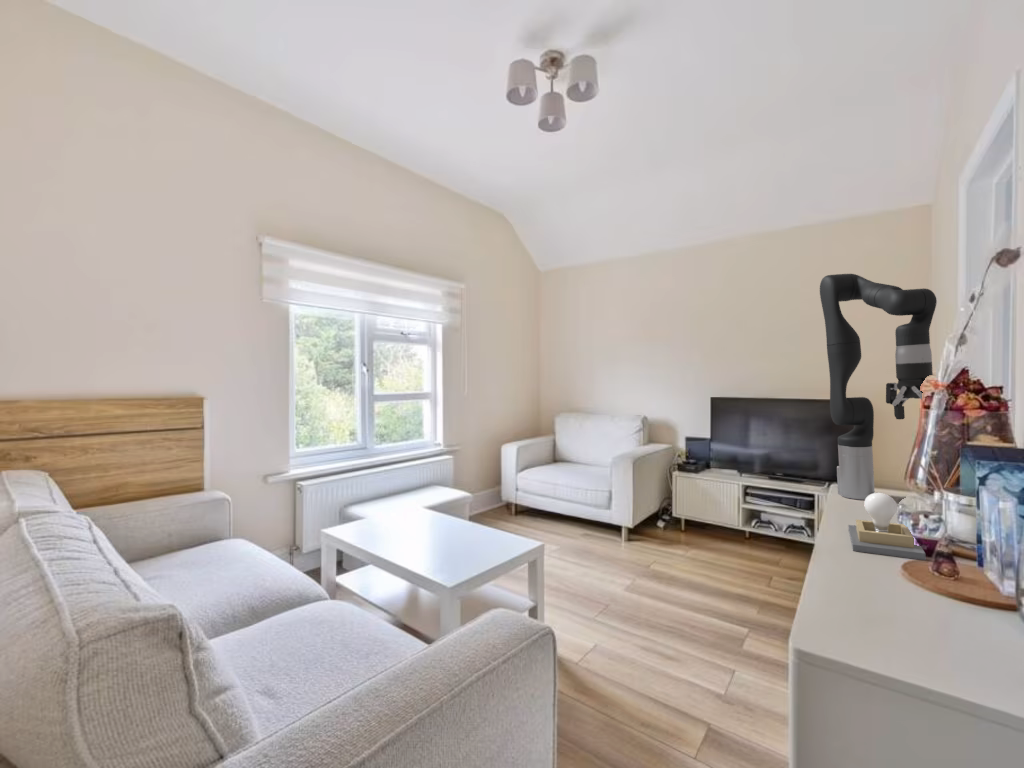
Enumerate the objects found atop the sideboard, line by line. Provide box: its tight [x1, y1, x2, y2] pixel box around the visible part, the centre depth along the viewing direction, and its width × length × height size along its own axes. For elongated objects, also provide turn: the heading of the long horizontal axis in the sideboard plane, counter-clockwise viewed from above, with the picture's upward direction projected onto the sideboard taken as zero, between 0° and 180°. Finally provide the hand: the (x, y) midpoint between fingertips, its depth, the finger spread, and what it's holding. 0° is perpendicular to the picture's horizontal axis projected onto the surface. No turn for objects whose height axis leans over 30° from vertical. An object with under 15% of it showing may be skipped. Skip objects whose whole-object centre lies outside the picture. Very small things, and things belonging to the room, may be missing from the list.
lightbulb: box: [863, 492, 898, 533], centre depth 112 cm, size 6×6×11 cm
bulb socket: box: [847, 519, 927, 561], centre depth 111 cm, size 16×13×4 cm
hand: (916, 420), depth 125 cm, fingers open, 8 cm apart
